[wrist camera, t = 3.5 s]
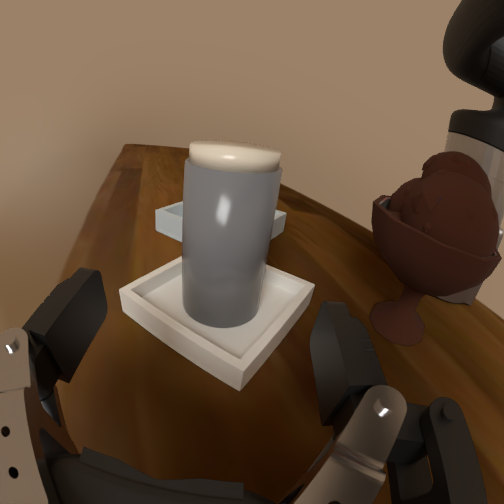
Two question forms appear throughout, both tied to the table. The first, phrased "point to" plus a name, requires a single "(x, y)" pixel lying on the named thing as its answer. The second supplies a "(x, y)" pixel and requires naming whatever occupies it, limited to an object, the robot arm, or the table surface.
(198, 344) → the tray
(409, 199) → the ice cream bowl
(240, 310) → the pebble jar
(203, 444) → the table surface
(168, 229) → the glazed dish
